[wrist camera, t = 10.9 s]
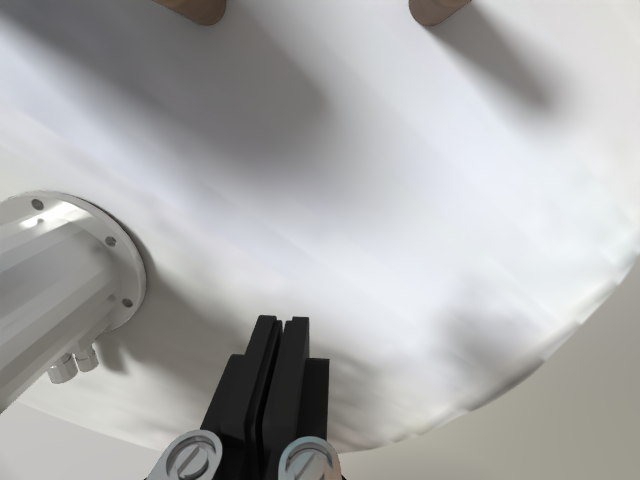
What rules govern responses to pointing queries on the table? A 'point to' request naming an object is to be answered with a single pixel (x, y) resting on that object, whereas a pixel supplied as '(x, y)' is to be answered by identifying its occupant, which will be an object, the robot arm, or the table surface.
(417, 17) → the right post
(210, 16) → the left post
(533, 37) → the table surface
